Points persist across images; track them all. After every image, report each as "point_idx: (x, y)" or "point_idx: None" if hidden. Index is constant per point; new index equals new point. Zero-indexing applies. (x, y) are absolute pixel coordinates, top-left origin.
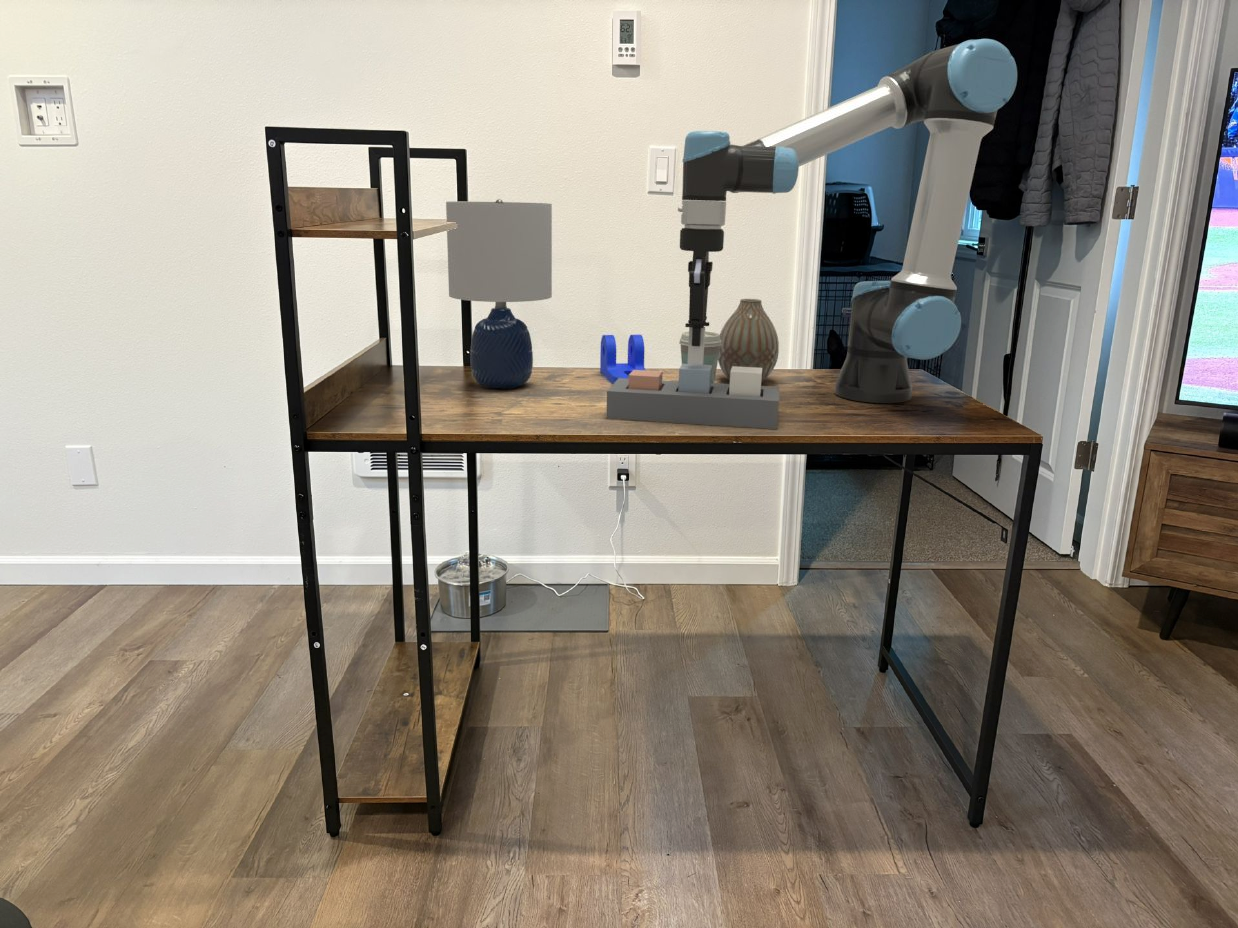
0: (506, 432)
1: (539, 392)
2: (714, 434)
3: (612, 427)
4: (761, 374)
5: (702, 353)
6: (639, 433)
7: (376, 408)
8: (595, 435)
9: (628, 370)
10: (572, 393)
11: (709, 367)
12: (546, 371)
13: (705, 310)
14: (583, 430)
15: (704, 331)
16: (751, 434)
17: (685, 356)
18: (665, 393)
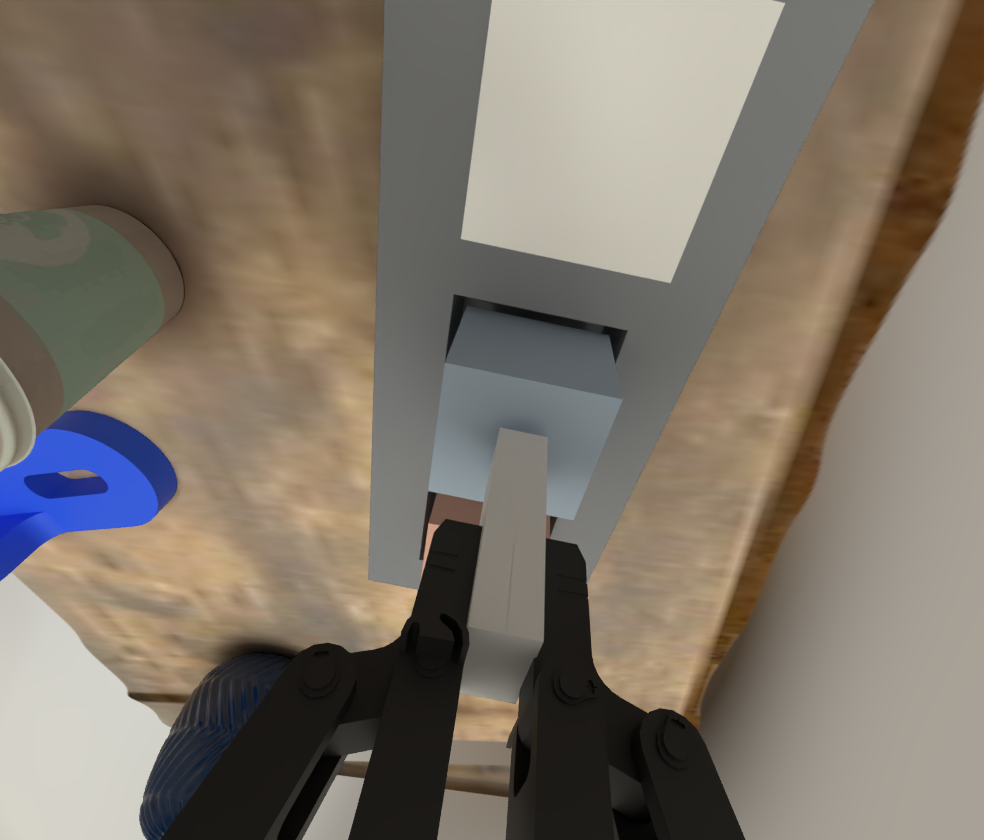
0: (677, 687)
1: (315, 631)
2: (825, 291)
3: (663, 547)
4: (766, 1)
5: (546, 486)
6: (743, 501)
7: (499, 776)
8: (739, 581)
9: (21, 485)
10: (301, 586)
11: (521, 387)
12: (87, 609)
13: (409, 810)
14: (684, 596)
15: (538, 611)
16: (882, 117)
17: (64, 411)
18: (611, 494)
